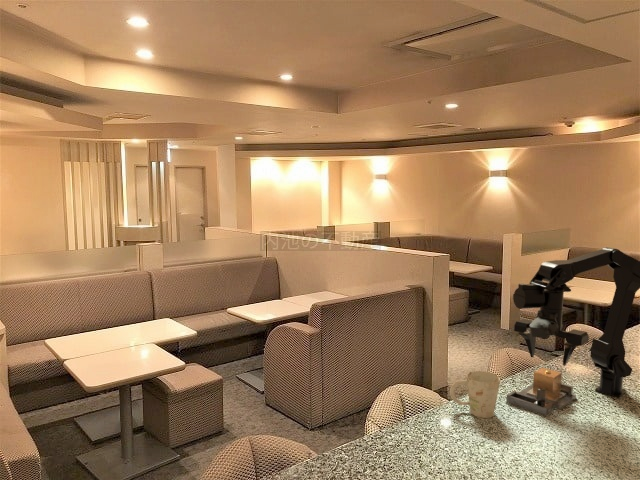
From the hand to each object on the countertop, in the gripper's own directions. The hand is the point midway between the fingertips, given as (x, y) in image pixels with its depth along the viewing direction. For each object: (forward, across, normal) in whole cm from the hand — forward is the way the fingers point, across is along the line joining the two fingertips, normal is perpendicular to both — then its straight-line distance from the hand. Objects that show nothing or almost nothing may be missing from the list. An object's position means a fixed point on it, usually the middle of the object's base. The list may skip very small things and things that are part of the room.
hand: (548, 361), depth 141 cm
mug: (+11, -9, -24) cm, 28 cm away
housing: (+9, 0, 0) cm, 9 cm away
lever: (+10, +3, -10) cm, 14 cm away
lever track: (+11, 0, -10) cm, 14 cm away
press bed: (+11, 0, 0) cm, 11 cm away
